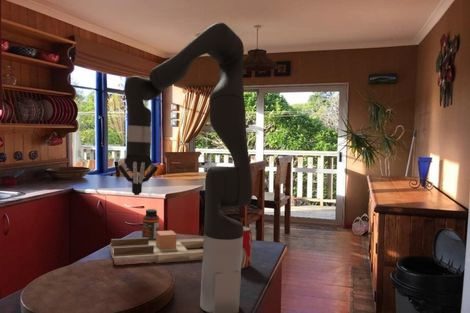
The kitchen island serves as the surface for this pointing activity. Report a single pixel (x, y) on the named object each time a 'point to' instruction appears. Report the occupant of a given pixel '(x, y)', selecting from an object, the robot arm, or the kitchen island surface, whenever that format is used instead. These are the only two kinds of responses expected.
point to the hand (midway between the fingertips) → (136, 194)
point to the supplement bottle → (150, 224)
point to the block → (166, 239)
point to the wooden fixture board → (155, 250)
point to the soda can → (246, 247)
